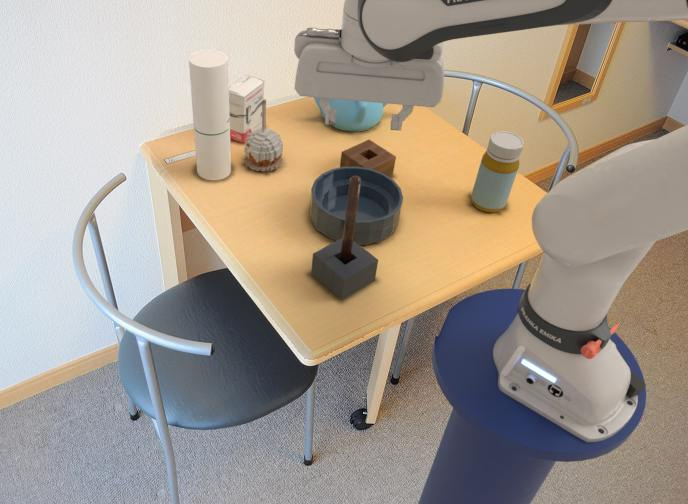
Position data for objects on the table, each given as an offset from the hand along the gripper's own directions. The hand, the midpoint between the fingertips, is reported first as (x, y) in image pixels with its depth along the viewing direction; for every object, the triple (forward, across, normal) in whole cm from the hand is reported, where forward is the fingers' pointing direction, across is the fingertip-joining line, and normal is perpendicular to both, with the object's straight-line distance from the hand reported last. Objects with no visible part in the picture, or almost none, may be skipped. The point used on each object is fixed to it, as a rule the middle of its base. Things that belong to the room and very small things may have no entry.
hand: (362, 125), depth 95 cm
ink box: (+31, -24, +44) cm, 59 cm away
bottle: (+31, +28, +25) cm, 49 cm away
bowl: (+31, +2, +17) cm, 35 cm away
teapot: (+31, 0, +54) cm, 62 cm away
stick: (+31, 0, 0) cm, 31 cm away
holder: (+31, +4, +32) cm, 44 cm away
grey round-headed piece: (+31, -18, +32) cm, 49 cm away
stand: (+31, 0, 0) cm, 31 cm away
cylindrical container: (+31, -28, +28) cm, 51 cm away
